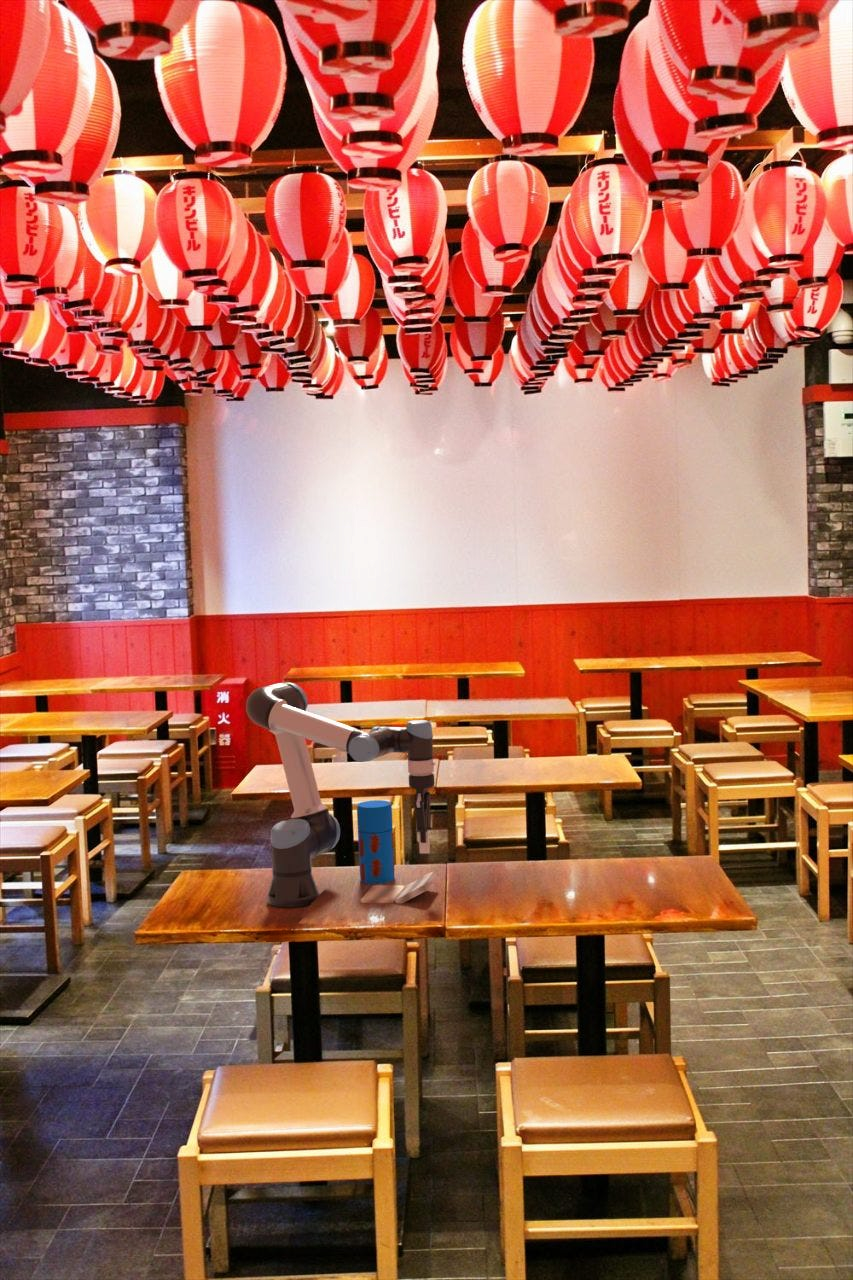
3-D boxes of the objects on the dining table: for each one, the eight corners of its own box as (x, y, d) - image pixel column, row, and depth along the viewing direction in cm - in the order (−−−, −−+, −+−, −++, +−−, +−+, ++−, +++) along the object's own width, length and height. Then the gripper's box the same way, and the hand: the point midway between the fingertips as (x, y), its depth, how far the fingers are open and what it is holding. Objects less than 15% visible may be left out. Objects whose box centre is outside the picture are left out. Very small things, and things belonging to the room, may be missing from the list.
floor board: (360, 907, 347) (360, 900, 347) (373, 891, 363) (373, 884, 362) (431, 908, 343) (430, 901, 343) (441, 892, 358) (441, 885, 358)
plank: (397, 905, 345) (394, 900, 345) (408, 890, 360) (405, 885, 360) (426, 890, 343) (423, 885, 343) (436, 876, 358) (433, 870, 358)
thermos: (394, 887, 366) (390, 807, 364) (359, 888, 366) (355, 808, 364) (395, 877, 377) (392, 799, 375) (361, 878, 377) (358, 800, 375)
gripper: (429, 777, 341) (432, 858, 343) (438, 769, 354) (441, 847, 356) (403, 777, 343) (407, 858, 344) (413, 769, 355) (416, 847, 357)
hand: (424, 852), depth 350 cm, fingers closed
